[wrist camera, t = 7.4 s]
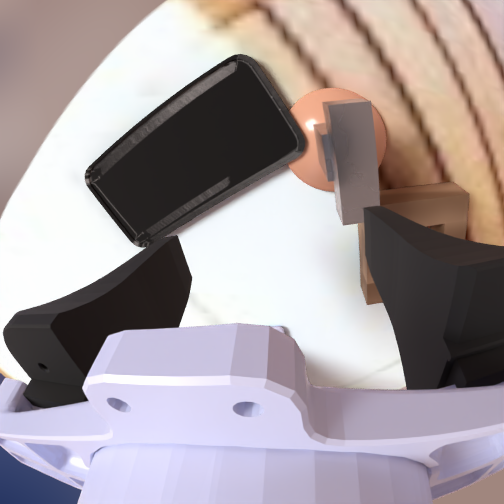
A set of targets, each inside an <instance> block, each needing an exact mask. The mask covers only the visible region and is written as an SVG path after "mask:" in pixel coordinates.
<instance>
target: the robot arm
mask: <svg viewBox="0 0 504 504" xmlns="http://www.w3.org/2000/svg"><path fill="white" fill-rule="evenodd" d="M363 211H364V233H365V256H366V260H367V263H368V267H369V270H370V273H371V276H372V278H373V281H374V283H375V285H376V287H377V290H378V292H379V294H380V296H381V299H382V301H383V303H384V306H385V308H386V310H387V313H388V315H389V317H390V320H391V323H392V326H393V329H394V333H395V336H396V340H397V344H398V348H399V352H400V357H401V361H402V366H403V371H404V376H405V382H406V387H407V390H381V389H353V388H336V387H322V386H313V385H312V384H311V383H310V382H309V379H308V377H307V372H306V364H305V357H304V355H303V353H302V352H301V350H300V348H299V346H298V345H297V343H296V341H295V340H294V339H293V338H291V337H289V336H288V335H286V334H285V333H284V329H283V328H282V327H280V326H275V327H270V326H263V325H252V324H242V323H234V324H222V325H210V326H196V327H181V328H179V325H180V322H181V319H182V316H183V313H184V310H185V308H186V305H187V302H188V298H189V294H190V288H191V282H192V276H191V273H190V270H189V267H188V265H187V262H186V259H185V256H184V253H183V250H182V247H181V244H180V241H179V238H178V236H177V235H176V236H170V237H164V238H162V239H159V240H158V241H156V242H154V243H153V244H151V245H150V246H148V247H147V248H145V249H144V250H142V251H141V252H139V253H138V254H137V255H135V256H134V257H132V258H131V259H130V260H128V261H127V262H125V263H124V264H122V265H121V266H119V267H118V268H116V269H115V270H113V271H112V272H110V273H109V274H107V275H106V276H104V277H102V278H101V279H99V280H97V281H95V282H93V283H92V284H90V285H88V286H86V287H84V288H82V289H80V290H78V291H76V292H73V293H71V294H69V295H67V296H65V297H62V298H60V299H57V300H55V301H52V302H49V303H46V304H43V305H40V306H37V307H33V308H30V309H26V310H23V311H19V312H17V313H16V314H15V315H14V316H13V317H12V319H11V320H10V321H9V323H8V324H7V325H6V326H5V328H4V331H3V336H4V340H5V343H6V346H7V348H8V349H9V351H10V352H11V354H12V355H13V357H14V358H15V359H16V361H17V362H18V363H19V364H20V366H21V367H22V368H23V369H24V371H25V372H26V373H27V374H28V376H29V377H30V378H31V381H30V383H29V384H28V385H27V384H25V383H24V382H22V381H19V380H14V379H10V378H5V379H4V381H3V382H2V384H1V386H0V446H1V447H3V448H4V449H5V450H6V451H7V452H9V453H10V454H11V455H12V456H14V457H15V458H16V459H17V460H19V461H20V462H22V463H24V464H26V465H28V466H30V467H32V468H34V469H36V470H38V471H40V472H42V473H45V474H47V475H49V476H51V477H53V478H56V479H58V480H60V481H62V482H65V483H67V484H69V485H71V486H74V487H76V488H78V489H81V490H82V492H81V495H80V498H79V501H78V504H433V501H432V500H435V499H438V498H440V497H443V496H446V495H448V494H450V493H453V492H455V491H458V490H460V489H462V488H465V487H467V486H470V485H471V484H474V483H476V482H478V481H480V480H482V479H485V478H486V477H488V476H490V475H493V474H495V473H497V472H498V471H500V470H502V469H504V246H496V245H489V244H483V243H477V242H473V241H468V240H464V239H460V238H456V237H453V236H450V235H447V234H444V233H441V232H438V231H435V230H432V229H430V228H428V227H425V226H423V225H421V224H418V223H416V222H414V221H412V220H410V219H408V218H406V217H403V216H401V215H399V214H397V213H395V212H393V211H391V210H389V209H387V208H385V207H382V206H371V207H364V208H363Z"/></svg>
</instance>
